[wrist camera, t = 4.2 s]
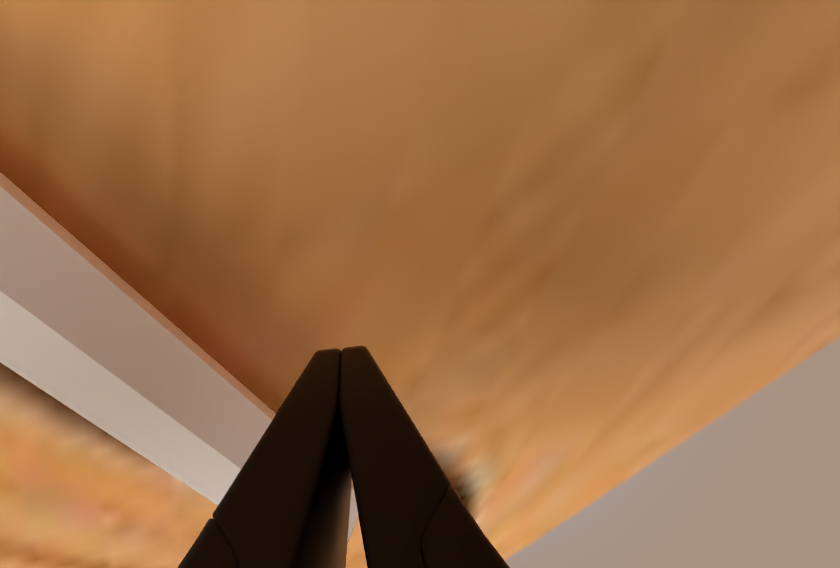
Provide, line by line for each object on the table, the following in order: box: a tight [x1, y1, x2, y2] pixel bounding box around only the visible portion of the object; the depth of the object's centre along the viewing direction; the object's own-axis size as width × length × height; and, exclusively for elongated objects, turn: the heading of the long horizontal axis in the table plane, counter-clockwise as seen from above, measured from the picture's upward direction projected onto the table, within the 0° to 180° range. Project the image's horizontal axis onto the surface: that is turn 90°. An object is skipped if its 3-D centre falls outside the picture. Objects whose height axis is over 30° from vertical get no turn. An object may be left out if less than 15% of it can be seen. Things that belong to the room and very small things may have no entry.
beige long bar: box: [0, 172, 358, 543], centre depth 10 cm, size 3×2×16 cm
